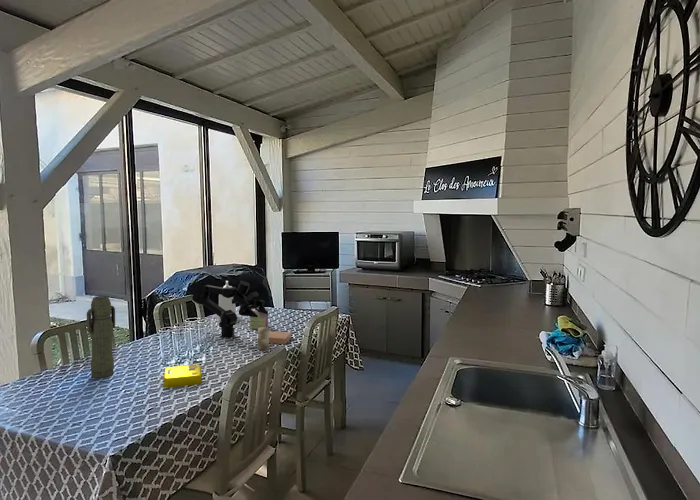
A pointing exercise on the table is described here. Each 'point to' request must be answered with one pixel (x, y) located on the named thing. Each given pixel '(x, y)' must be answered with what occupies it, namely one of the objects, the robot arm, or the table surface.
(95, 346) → the thermos
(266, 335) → the post
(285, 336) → the base
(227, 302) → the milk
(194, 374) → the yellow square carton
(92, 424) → the table surface
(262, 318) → the box
